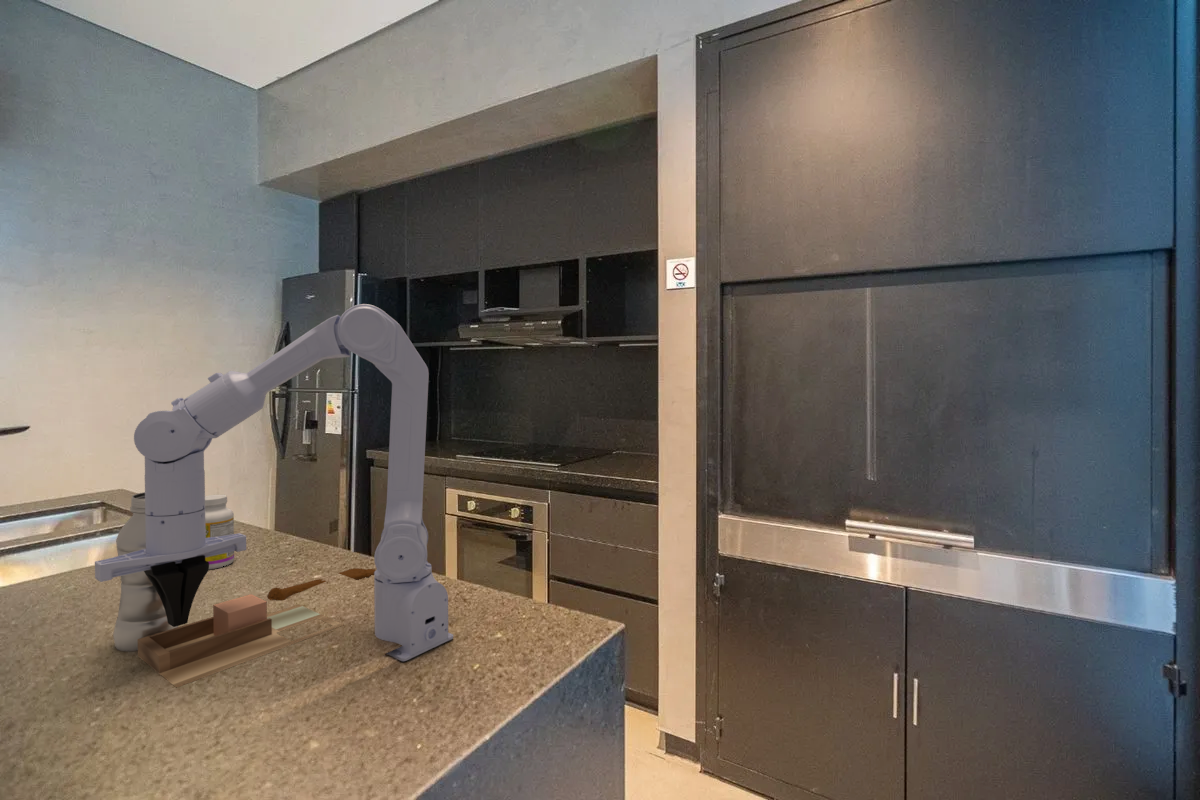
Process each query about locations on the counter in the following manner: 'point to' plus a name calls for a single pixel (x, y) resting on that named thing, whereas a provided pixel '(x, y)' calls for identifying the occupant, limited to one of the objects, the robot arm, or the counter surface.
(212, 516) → the supplement bottle
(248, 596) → the block
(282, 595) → the primitive tool
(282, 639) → the board
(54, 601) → the counter surface
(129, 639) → the plastic bottle
